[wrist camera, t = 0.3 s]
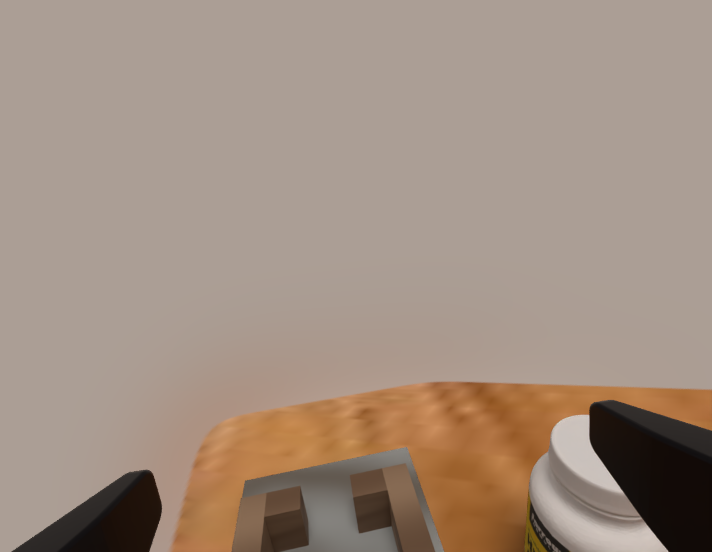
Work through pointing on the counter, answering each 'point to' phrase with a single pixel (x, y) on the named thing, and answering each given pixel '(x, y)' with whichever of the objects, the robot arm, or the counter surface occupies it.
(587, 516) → the supplement bottle
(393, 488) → the pocket
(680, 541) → the robot arm
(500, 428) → the counter surface
